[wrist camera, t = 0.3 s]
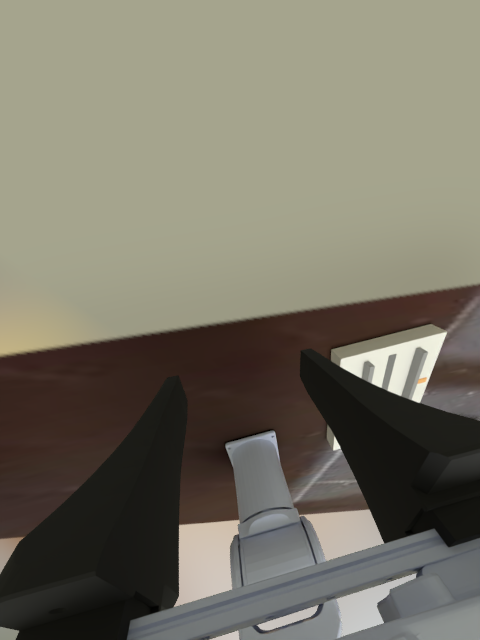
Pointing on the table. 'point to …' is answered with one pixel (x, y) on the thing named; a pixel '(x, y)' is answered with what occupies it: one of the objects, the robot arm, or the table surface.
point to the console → (393, 362)
